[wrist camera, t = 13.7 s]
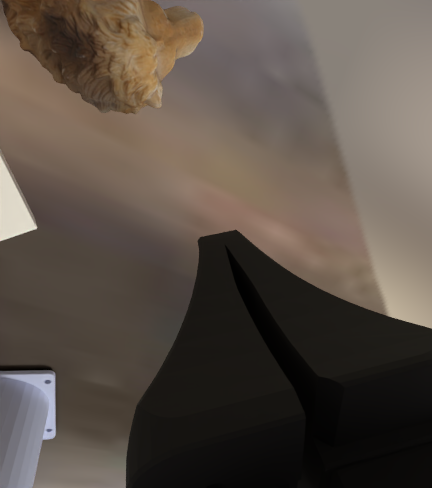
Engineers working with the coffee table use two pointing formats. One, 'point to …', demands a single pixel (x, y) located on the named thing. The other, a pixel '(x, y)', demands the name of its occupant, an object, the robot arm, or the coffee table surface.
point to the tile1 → (13, 205)
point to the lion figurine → (106, 46)
